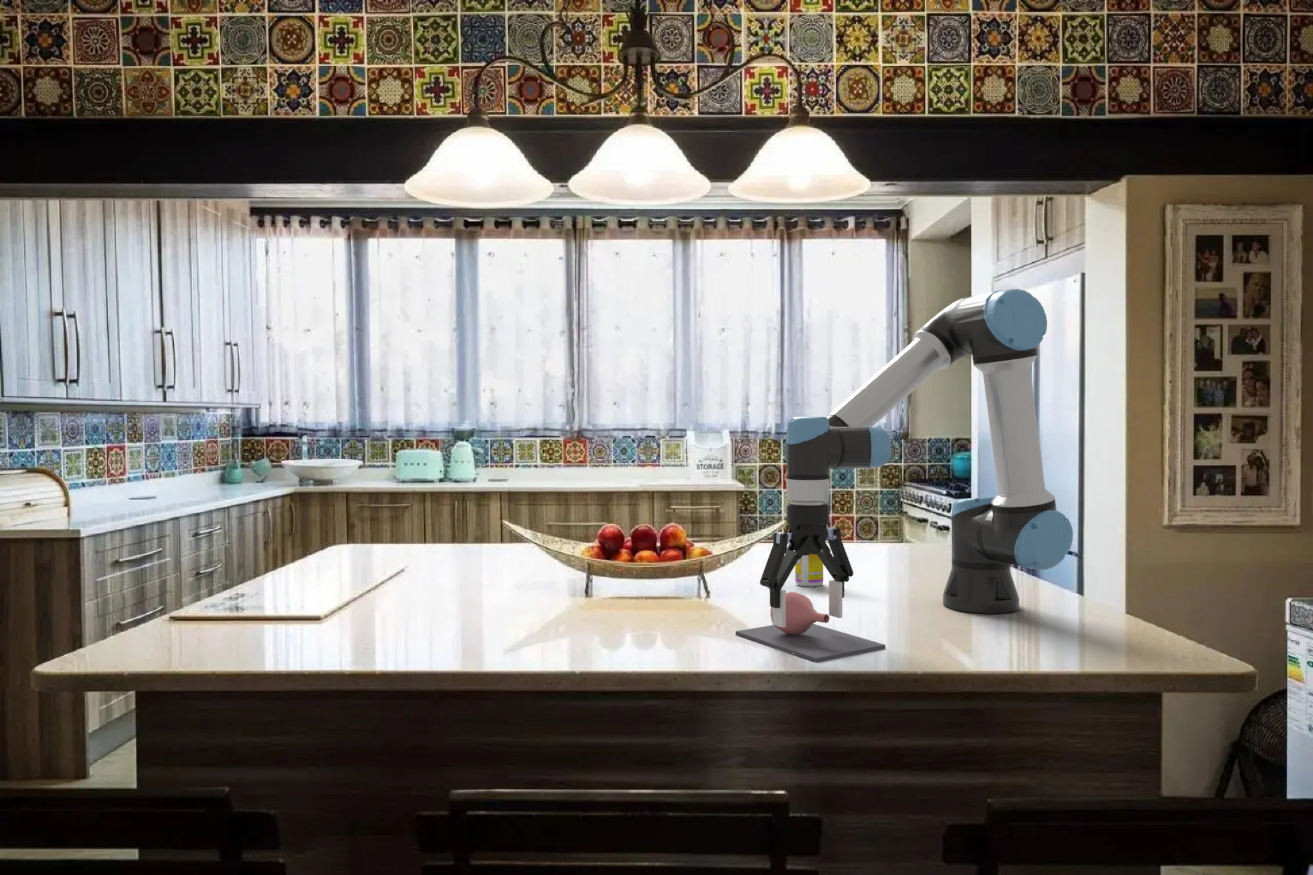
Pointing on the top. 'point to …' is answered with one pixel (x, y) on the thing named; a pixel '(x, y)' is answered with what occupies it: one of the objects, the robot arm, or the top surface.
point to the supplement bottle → (809, 571)
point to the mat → (812, 642)
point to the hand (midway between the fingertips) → (808, 621)
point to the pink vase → (799, 614)
